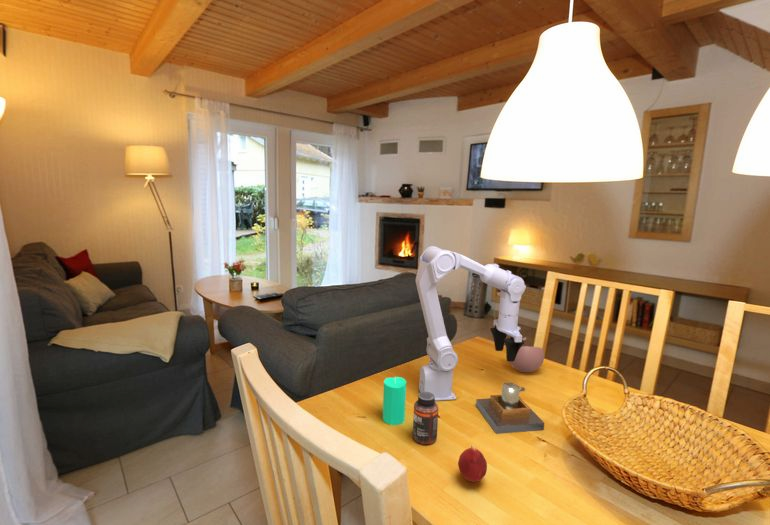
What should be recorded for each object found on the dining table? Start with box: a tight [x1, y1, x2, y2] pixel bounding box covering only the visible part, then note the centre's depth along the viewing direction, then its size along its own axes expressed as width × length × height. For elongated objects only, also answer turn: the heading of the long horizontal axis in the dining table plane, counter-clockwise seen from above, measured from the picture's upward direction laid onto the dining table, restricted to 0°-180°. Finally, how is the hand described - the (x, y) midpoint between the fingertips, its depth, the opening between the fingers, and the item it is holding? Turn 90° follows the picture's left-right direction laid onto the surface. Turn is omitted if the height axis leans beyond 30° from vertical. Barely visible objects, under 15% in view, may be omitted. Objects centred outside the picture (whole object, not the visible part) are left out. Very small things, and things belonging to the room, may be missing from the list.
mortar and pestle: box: [509, 336, 545, 373], centre depth 132 cm, size 12×12×12 cm
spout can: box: [501, 382, 526, 409], centre depth 103 cm, size 6×4×7 cm
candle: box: [382, 376, 407, 426], centre depth 101 cm, size 6×6×12 cm
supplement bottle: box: [412, 392, 439, 445], centre depth 93 cm, size 6×6×11 cm
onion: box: [457, 444, 488, 483], centre depth 80 cm, size 6×6×8 cm
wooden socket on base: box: [475, 394, 545, 435], centre depth 104 cm, size 13×13×4 cm
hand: (504, 355), depth 119 cm, fingers open, 7 cm apart
